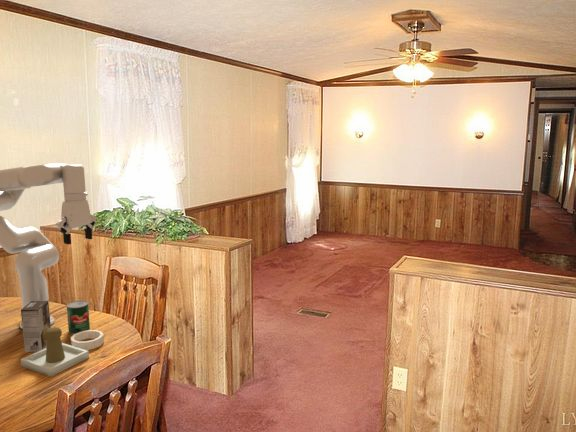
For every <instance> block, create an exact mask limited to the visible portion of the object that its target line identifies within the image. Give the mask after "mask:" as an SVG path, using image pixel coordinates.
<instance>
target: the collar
mask: <svg viewBox="0 0 576 432" xmlns="http://www.w3.org/2000/svg"><path fill="white" fill-rule="evenodd" d="M104 337H105V336H104V333H103V331H100V330H98V329H90V330H87V331H82V332H79V333H76V334H72V336H70V345H71V346H74V347H77V348H81V349H84V350H87V351H89V350H94V349H97V348H99V347H101V346H102V345H103V344H104V343H105V338H104ZM90 339H91V340H90Z"/></svg>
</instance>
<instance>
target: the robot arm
mask: <svg viewBox="0 0 576 432" xmlns="http://www.w3.org/2000/svg"><path fill="white" fill-rule="evenodd" d="M85 175H86V174H85V167H84V165H82V164H76V163H69V164H68V163H65V162H64V163H63V162H58V163H46V164H45V163H44V164H37V165H31V166H19V167H12V168H6V169H5V168H4V169H0V212H1V211H2V212H3V211H7V210H11V209H13V207H15V206H16V205H17V203H18V202H19V199H21V196H22V195H23V194H24V191H25V190H26V189H30V188H32V187H41V186H49V185H55V184H63V196H64V197H63V198H64V201H62V204H61V212H60V213H61V216H60V217H61V219H60V220H58V221H57V222H56V223H55V226H56V227H57V229H58V231H59V232H60V233H61V235H62V237H63V244H66V245H71V244H72V237H71V236H72V235H71V233H70V232H71V230H72V229H75V228H81V227H85V228H84V238H85V239H87V240H93V229H94V226H95V224H96V221H97V216H96V215H93V214H91V209H90V204H89V201H88V199H87V197H88V196H89V195H88V193H87V192H86V189H87V188H86V178H85V177H86V176H85ZM0 247H1V248H2V249H3V250H4V251H5V252H7V253H8V254H14V255H15V254H17V256H16V257H15V260H14V265H15V270H16V271H17V275H18V279H19V285H20V286H19V288H20V293H21V294H20V297H21V306H22V309H23V308H24V307H25V306H26V305H27V304H28V303H30V302H31V301H48V303H49V304H50V302H49V291H48V290H49V289H48V280H47V279H46V276H45V274H43V272H42V271H43V270H45V269H47V268H50V267H53V266H54V265H56V264H57V263H58V262H59V261H60V252H59V250H58V249H57V247H56V246H55V245H54V244H53V243H52V242H51V241H50V239H49V238H48V237H47V236H46V235H44V234H43V233H42V231H40V230H39V229H38V228H37V227H34V226H31V225H30V226H29V225H27V226H21V227H16V226H14V225H13V224H12V223H11V222H10V221H9V220H8V219H7V218H5V217H4V216H2V215H0ZM49 313H50V311H49ZM50 314H51V313H50ZM19 317H21V318H22V316H21V313H20V314H19ZM54 323H55V318H54V317H53V316H51V315H50V324H51V326H52V325H53V324H54ZM19 329H21V330H23V326H22V321H21V322H19Z"/></svg>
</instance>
